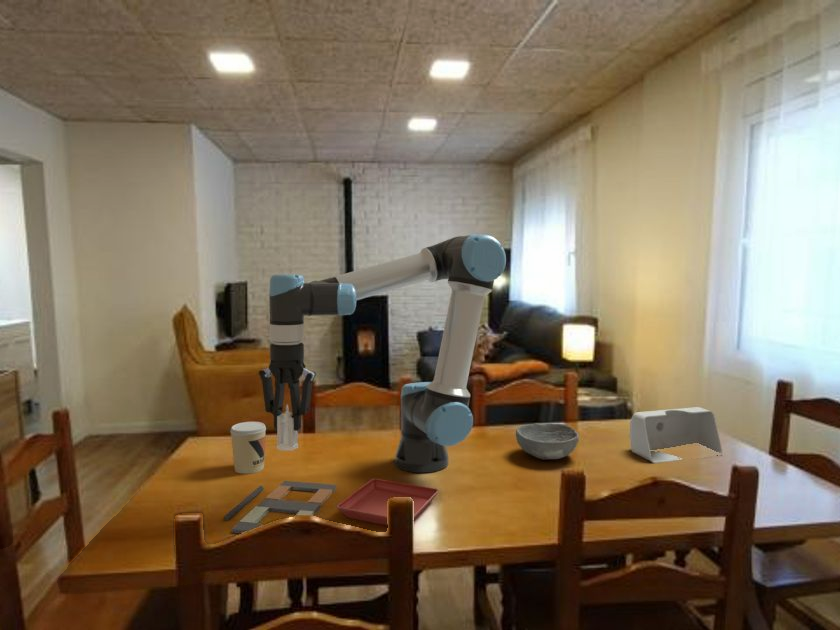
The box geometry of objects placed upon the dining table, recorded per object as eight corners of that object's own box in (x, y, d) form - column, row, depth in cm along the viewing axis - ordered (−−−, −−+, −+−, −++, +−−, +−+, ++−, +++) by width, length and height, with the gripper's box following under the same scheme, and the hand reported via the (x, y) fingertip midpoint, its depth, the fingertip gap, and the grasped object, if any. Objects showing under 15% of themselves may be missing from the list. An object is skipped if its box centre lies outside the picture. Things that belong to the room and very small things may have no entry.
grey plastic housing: (683, 439, 177) (685, 401, 176) (723, 455, 161) (725, 414, 160) (616, 446, 170) (618, 406, 169) (651, 464, 155) (653, 421, 153)
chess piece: (278, 451, 123) (278, 408, 122) (274, 445, 127) (274, 403, 127) (300, 449, 125) (300, 406, 124) (295, 442, 130) (295, 401, 129)
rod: (259, 489, 137) (259, 484, 137) (264, 489, 137) (264, 485, 136) (223, 521, 120) (222, 515, 120) (228, 521, 120) (227, 516, 120)
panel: (336, 487, 138) (336, 484, 138) (294, 538, 112) (294, 534, 112) (284, 483, 140) (284, 480, 140) (231, 532, 115) (231, 528, 115)
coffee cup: (256, 476, 145) (255, 432, 144) (224, 473, 147) (223, 430, 146) (273, 463, 154) (272, 422, 153) (242, 461, 156) (241, 420, 155)
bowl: (509, 462, 155) (509, 435, 155) (522, 443, 172) (522, 418, 171) (574, 471, 149) (575, 443, 148) (581, 451, 165) (582, 425, 164)
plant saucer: (373, 489, 138) (372, 476, 137) (440, 501, 131) (440, 488, 130) (335, 520, 121) (335, 506, 121) (409, 536, 114) (409, 521, 114)
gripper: (325, 341, 126) (325, 440, 128) (264, 338, 129) (265, 435, 131) (311, 346, 119) (312, 451, 121) (247, 343, 122) (248, 445, 124)
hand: (287, 442), depth 126 cm, fingers closed on chess piece, 2 cm apart
